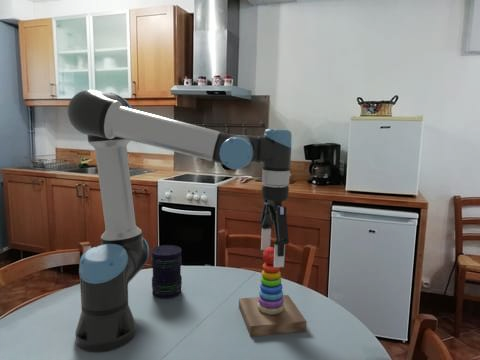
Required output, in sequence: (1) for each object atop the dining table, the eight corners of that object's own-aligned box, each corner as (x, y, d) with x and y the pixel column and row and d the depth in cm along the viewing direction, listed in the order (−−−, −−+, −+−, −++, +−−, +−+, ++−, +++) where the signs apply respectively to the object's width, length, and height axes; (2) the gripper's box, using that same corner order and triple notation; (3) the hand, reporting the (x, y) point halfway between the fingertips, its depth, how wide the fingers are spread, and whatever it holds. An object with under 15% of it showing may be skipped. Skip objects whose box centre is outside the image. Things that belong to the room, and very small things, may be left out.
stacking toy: (283, 303, 112) (286, 244, 109) (284, 316, 104) (287, 253, 101) (257, 301, 112) (260, 242, 109) (256, 314, 104) (258, 252, 102)
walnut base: (250, 336, 99) (250, 326, 99) (238, 307, 114) (239, 298, 114) (306, 331, 102) (306, 321, 102) (287, 303, 118) (288, 294, 117)
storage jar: (185, 286, 128) (185, 245, 126) (177, 300, 118) (177, 256, 116) (157, 285, 129) (156, 244, 127) (147, 298, 119) (146, 254, 117)
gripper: (304, 193, 91) (299, 274, 94) (275, 178, 115) (272, 243, 118) (275, 193, 89) (271, 275, 93) (252, 178, 114) (249, 243, 117)
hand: (271, 257), depth 105 cm, fingers open, 13 cm apart
